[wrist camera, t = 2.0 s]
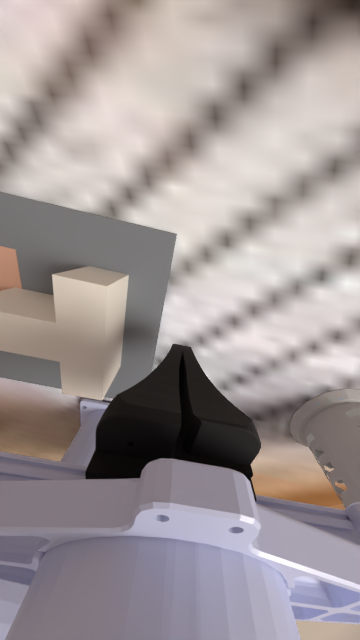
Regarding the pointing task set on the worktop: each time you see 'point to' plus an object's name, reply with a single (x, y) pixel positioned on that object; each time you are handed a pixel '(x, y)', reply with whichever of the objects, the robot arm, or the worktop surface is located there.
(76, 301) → the t block
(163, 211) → the worktop surface
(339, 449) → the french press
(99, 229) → the slate mat
